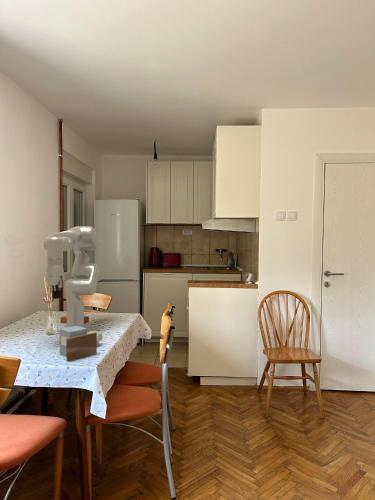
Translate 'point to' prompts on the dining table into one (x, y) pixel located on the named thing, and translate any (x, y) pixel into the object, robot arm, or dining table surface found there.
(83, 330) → the grey box
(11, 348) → the dining table surface
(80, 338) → the board
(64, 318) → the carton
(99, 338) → the sage mug
